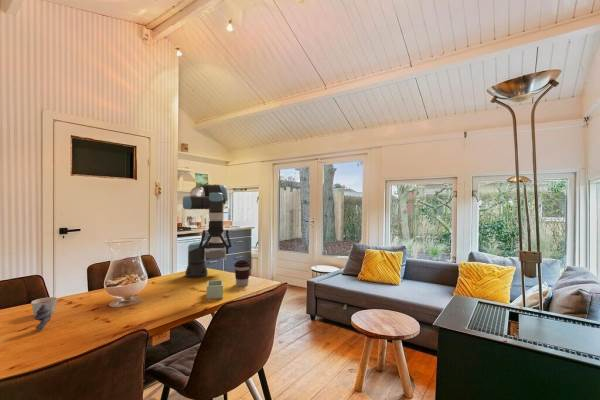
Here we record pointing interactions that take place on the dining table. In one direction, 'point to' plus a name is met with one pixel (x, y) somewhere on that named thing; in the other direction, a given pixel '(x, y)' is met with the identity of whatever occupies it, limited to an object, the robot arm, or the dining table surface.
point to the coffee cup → (242, 272)
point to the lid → (215, 253)
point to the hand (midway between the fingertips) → (215, 260)
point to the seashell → (43, 316)
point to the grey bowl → (47, 301)
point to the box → (214, 289)
